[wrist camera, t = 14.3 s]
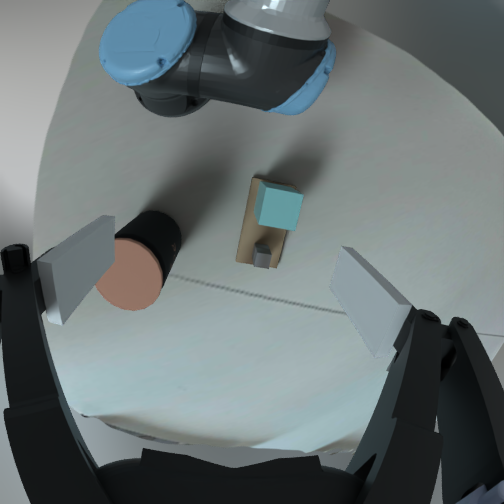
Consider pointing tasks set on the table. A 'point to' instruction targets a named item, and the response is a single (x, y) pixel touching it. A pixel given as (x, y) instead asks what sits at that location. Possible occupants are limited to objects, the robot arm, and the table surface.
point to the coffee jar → (141, 261)
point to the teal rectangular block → (277, 206)
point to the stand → (259, 235)
